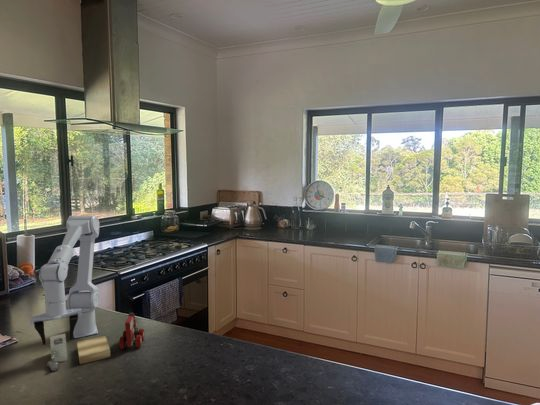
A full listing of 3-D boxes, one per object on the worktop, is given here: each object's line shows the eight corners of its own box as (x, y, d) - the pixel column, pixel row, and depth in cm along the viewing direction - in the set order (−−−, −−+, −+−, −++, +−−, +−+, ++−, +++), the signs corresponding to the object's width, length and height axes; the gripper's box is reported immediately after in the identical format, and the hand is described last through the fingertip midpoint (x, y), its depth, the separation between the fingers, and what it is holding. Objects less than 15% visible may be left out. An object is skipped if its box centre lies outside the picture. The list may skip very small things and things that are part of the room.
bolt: (45, 367, 119) (45, 360, 119) (54, 364, 121) (53, 357, 121) (51, 372, 116) (51, 365, 116) (60, 369, 118) (59, 361, 118)
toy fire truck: (145, 335, 141) (144, 308, 140) (139, 351, 129) (138, 321, 128) (125, 337, 140) (124, 309, 139) (118, 353, 128) (116, 323, 127)
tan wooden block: (77, 348, 131) (76, 341, 131) (105, 342, 136) (105, 335, 136) (79, 364, 121) (79, 356, 121) (110, 356, 125) (110, 349, 125)
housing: (51, 353, 128) (50, 334, 128) (66, 350, 131) (65, 331, 130) (51, 364, 121) (50, 344, 121) (67, 360, 124) (66, 341, 123)
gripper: (28, 308, 117) (31, 351, 118) (81, 299, 124) (83, 340, 125) (29, 301, 123) (32, 342, 124) (79, 293, 130) (81, 332, 132)
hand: (58, 340), depth 125 cm, fingers open, 7 cm apart
